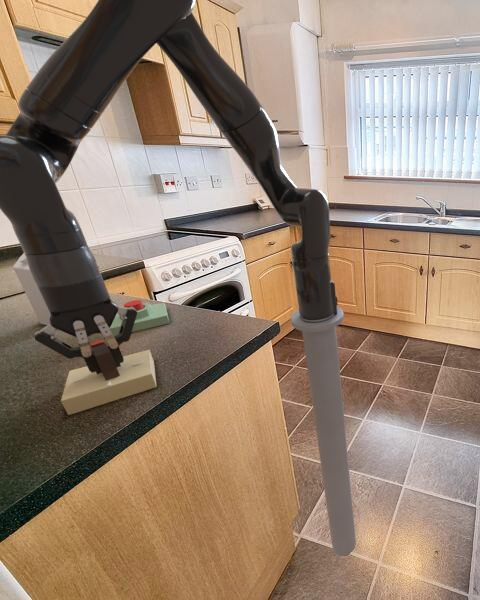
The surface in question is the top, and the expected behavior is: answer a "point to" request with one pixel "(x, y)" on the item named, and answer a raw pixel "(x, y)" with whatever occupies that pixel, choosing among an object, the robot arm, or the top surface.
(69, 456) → the top surface
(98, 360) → the brown rectangular block
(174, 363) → the top surface
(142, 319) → the button block
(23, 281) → the milk carton
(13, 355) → the top surface
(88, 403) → the panel
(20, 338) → the top surface
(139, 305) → the button
